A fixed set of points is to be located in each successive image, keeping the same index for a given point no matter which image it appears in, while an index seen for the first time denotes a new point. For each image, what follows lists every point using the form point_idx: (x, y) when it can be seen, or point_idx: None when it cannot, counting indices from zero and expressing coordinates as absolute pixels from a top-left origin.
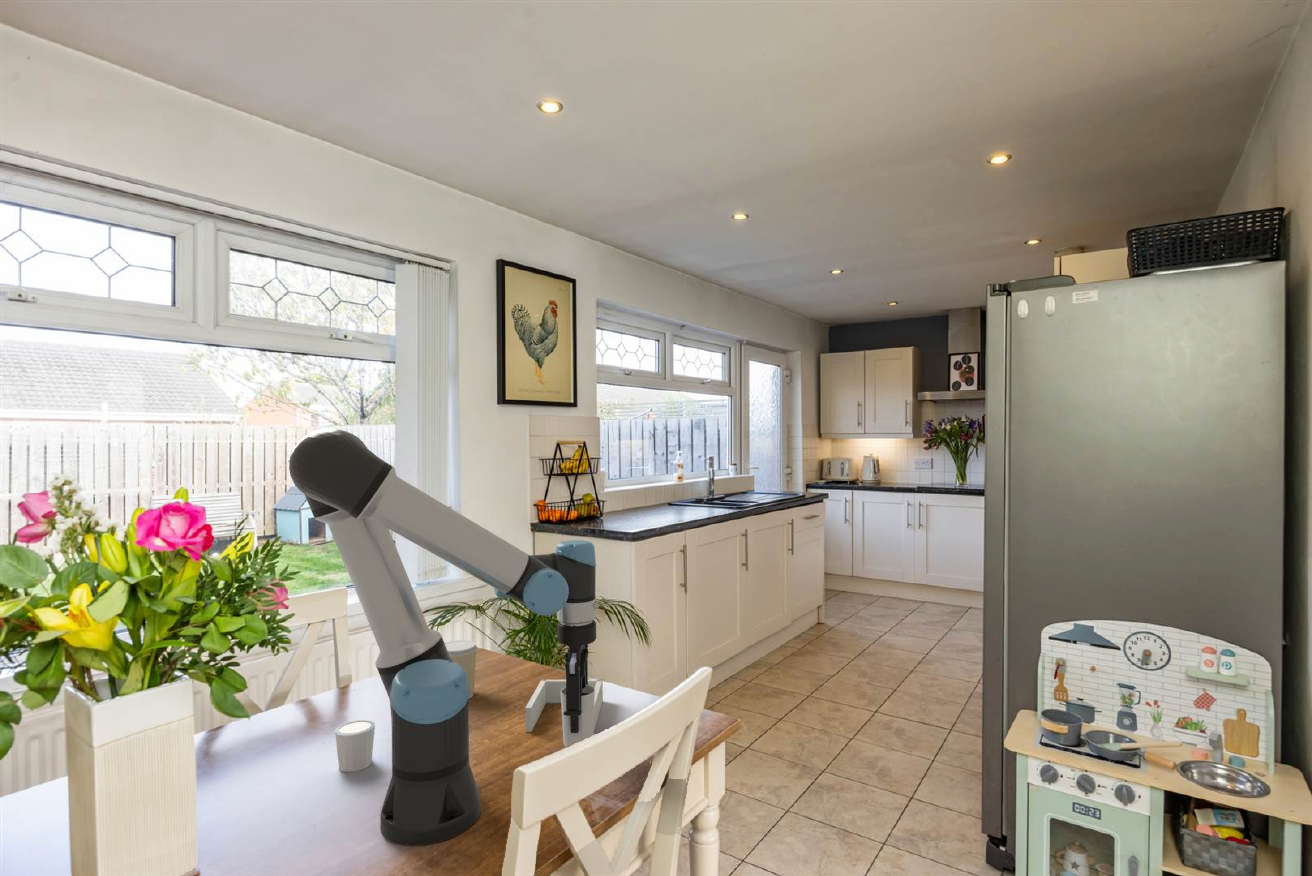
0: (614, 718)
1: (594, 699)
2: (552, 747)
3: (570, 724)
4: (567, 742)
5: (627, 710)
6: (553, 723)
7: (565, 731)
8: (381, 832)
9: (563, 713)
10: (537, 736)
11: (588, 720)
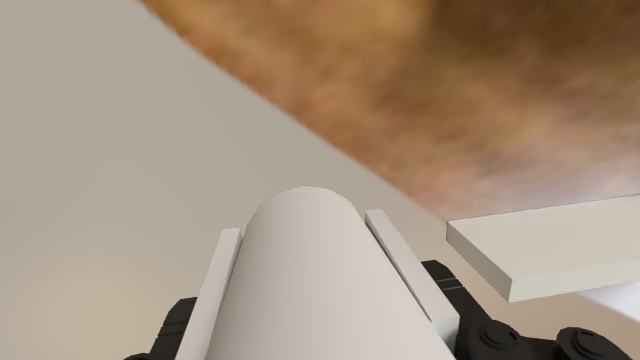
0: None
1: (608, 279)
2: (316, 124)
3: (154, 343)
4: (251, 225)
5: (598, 293)
6: (546, 61)
7: (249, 242)
8: None
9: (243, 299)
10: (421, 21)
11: None
